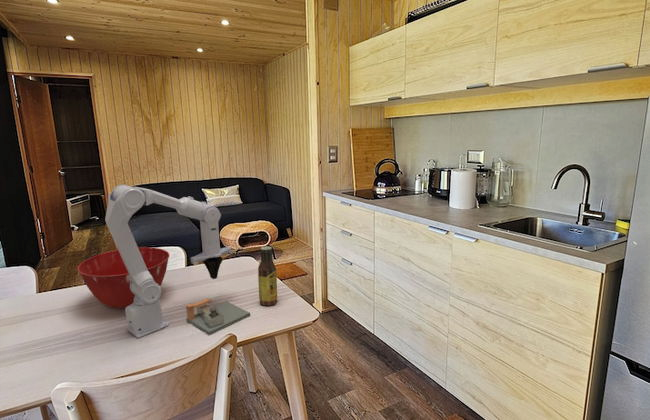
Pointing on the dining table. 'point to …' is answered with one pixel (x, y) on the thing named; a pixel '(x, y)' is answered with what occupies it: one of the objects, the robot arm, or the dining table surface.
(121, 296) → the mixing bowl
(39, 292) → the dining table surface
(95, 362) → the dining table surface
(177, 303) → the dining table surface
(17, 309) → the dining table surface
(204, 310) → the latch
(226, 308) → the base
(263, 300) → the sauce bottle
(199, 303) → the bracket
